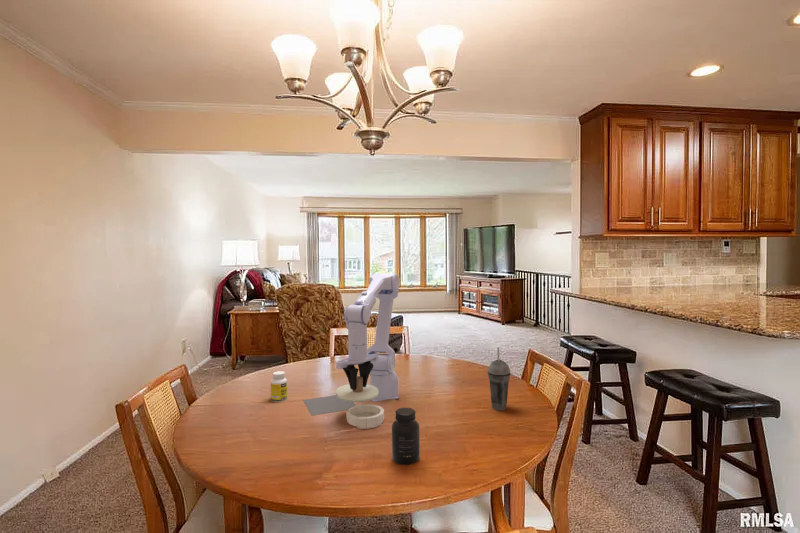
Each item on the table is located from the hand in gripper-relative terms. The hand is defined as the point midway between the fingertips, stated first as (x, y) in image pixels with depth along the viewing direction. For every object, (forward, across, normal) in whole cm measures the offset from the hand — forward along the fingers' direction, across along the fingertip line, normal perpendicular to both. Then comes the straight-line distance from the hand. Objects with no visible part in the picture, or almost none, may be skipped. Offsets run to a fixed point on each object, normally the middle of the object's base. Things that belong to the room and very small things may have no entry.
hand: (358, 387), depth 126 cm
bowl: (+10, 0, +3) cm, 10 cm away
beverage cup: (+10, -38, +25) cm, 47 cm away
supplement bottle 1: (+10, +11, -32) cm, 35 cm away
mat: (+9, +1, -15) cm, 18 cm away
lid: (+2, 0, 0) cm, 2 cm away
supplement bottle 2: (+10, +6, +28) cm, 31 cm away
